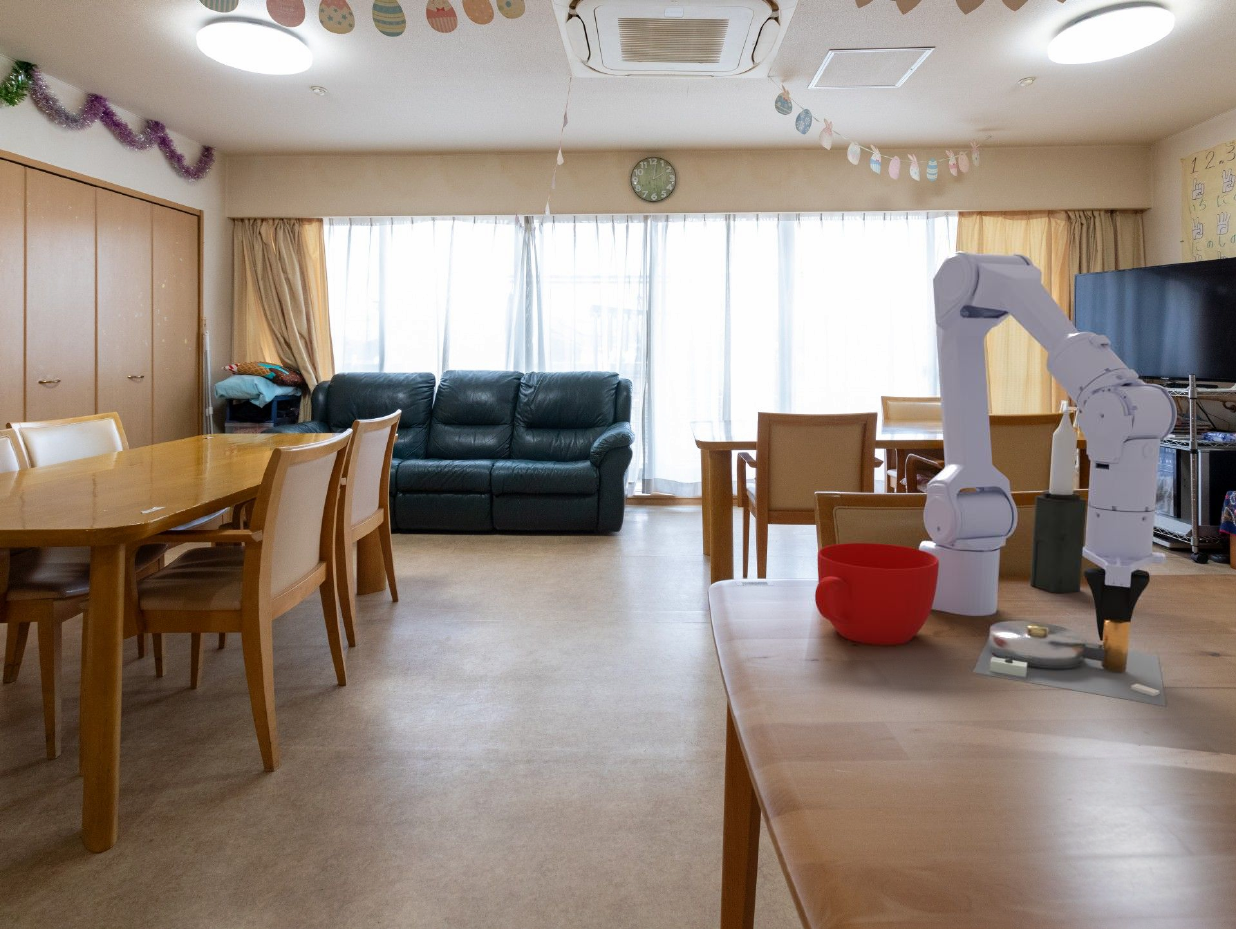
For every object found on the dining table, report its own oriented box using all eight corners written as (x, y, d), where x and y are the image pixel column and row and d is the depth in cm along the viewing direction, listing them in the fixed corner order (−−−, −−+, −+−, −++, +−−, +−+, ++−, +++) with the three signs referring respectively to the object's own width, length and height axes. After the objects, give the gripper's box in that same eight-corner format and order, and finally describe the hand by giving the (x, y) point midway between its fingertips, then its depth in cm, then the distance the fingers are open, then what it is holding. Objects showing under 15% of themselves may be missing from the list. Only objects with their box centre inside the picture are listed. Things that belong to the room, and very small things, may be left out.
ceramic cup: (768, 646, 93) (770, 558, 92) (857, 617, 104) (860, 538, 102) (870, 680, 83) (874, 582, 82) (957, 644, 94) (961, 556, 93)
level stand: (972, 682, 83) (973, 659, 82) (990, 639, 95) (992, 619, 95) (1165, 716, 75) (1167, 691, 74) (1157, 664, 87) (1159, 642, 87)
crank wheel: (980, 656, 86) (982, 611, 86) (998, 633, 93) (1001, 592, 93) (1122, 683, 79) (1125, 635, 78) (1130, 656, 86) (1134, 612, 86)
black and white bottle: (1026, 584, 119) (1037, 408, 116) (1054, 581, 121) (1066, 408, 118) (1054, 593, 114) (1066, 410, 111) (1084, 590, 116) (1096, 410, 113)
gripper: (1174, 522, 75) (1163, 669, 76) (1164, 500, 87) (1155, 626, 89) (1083, 516, 78) (1075, 656, 80) (1086, 495, 91) (1079, 617, 92)
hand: (1111, 640), depth 84 cm, fingers closed, pressing on crank wheel
